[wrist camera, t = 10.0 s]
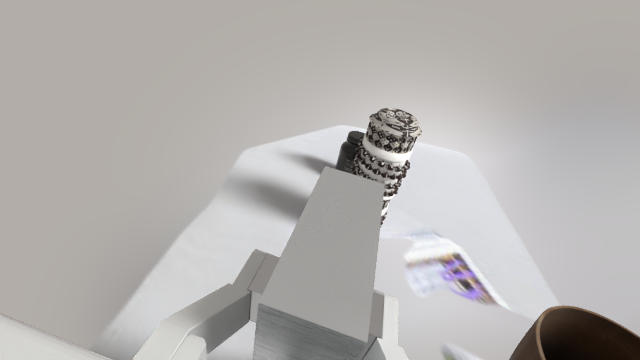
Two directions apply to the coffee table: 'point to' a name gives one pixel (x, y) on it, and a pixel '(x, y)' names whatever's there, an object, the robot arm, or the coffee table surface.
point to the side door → (324, 275)
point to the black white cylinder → (386, 150)
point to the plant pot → (577, 337)
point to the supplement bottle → (348, 152)
